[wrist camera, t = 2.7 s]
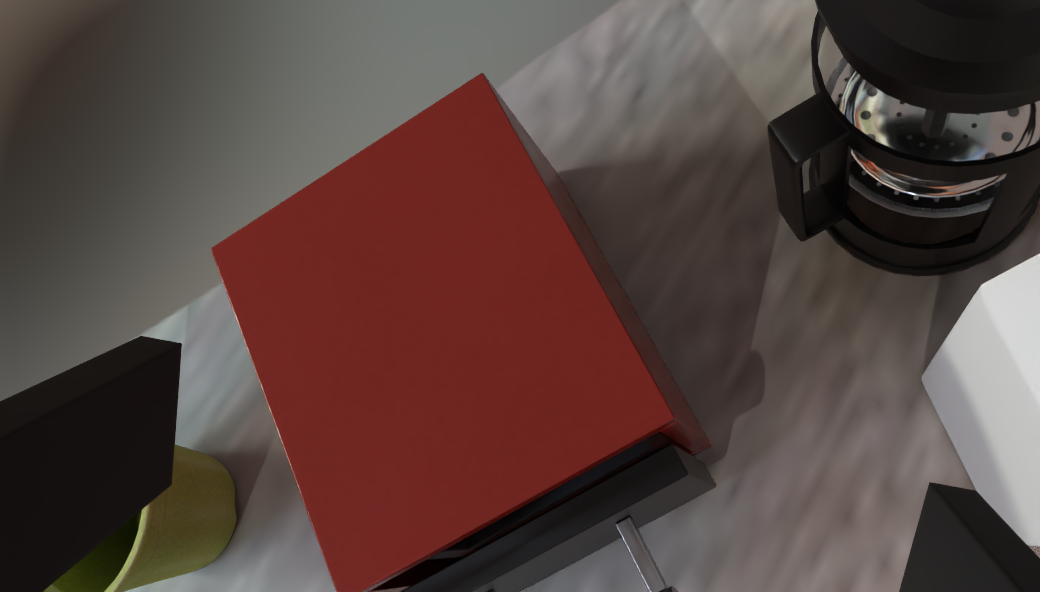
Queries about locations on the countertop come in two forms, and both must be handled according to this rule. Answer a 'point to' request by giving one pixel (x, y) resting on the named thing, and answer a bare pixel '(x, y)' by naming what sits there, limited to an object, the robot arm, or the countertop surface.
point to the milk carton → (996, 394)
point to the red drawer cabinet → (440, 340)
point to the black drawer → (577, 523)
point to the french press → (917, 127)
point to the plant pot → (163, 532)
